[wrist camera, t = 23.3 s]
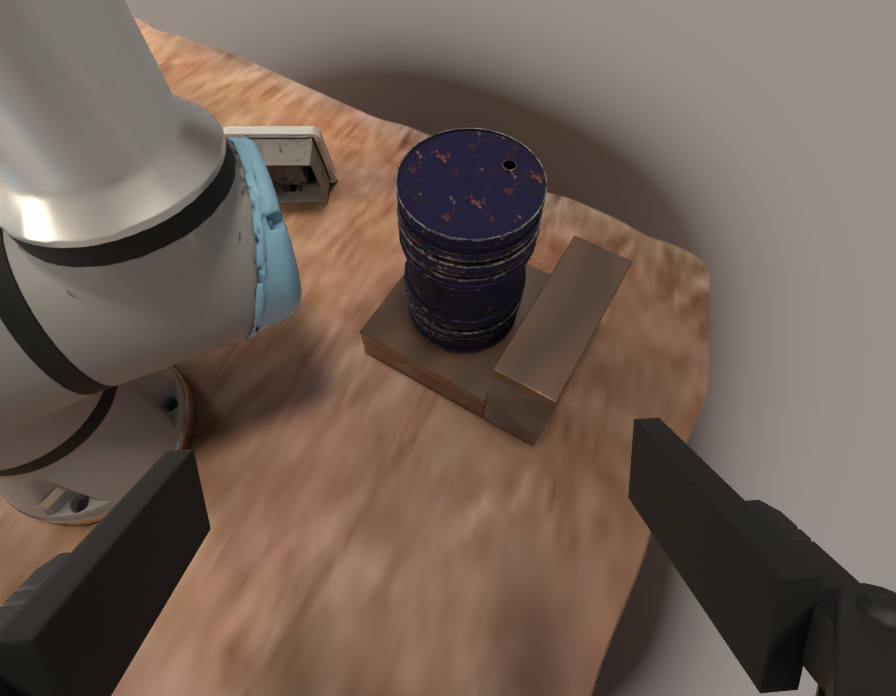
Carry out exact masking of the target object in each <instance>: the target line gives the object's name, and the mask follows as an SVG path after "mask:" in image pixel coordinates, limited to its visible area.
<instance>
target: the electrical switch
mask: <svg viewBox="0 0 896 696" xmlns="http://www.w3.org/2000/svg"><path fill="white" fill-rule="evenodd" d="M223 132H224V134H225V137H226V139H228V138H229V137H232V136H233V138H234V137H236V138H248V139H250V140H252V141H253V142H254V143H255V144H256V146H257V147H258V149H259V151H260V153H261V155H262V157H263V159H264V162H265V164H266V167H267V169H268V172H269V174H270V177H271V180H272V183H273V186H274V188H275V191H276V194H277V197H278V201H279V203H327V202H328V191H329V183H334V182H335V181H336V180H337V175H336V170H335V168H334V165H333V163H332V160H331V157H330V155H329V152H328V150H327V147H326V144H325V142H324V139H323V137H322V134H321V131H320V129H318V128H316V127H314V126H227V127H225V128H224V131H223ZM282 183H283V184H284V185H285V186H286V193H285V186H284V185H283V184H282ZM317 183H318V184H317ZM289 184H295V185H298V187H297V191H294V192H291V191H290V186H289ZM303 185H304V186H303ZM302 186H303V189H302V193H301V188H302ZM320 189H321V191H320ZM304 197H306V198H304ZM315 197H316V198H315ZM314 198H315V199H314Z"/></svg>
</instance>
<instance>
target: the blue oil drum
mask: <svg viewBox="0 0 896 696" xmlns="http://www.w3.org/2000/svg"><path fill="white" fill-rule="evenodd" d="M396 191H397V200H398V207H397V216H398V225H399V237H400V243H401V246H402V249H403V251H404V254H405V256H406V258H407V261H406V264H405V273H404V283H405V288H406V298H407V301H408V305H409V312H410V317H411V320H412V323H413V325H414V327H415V329H416V330H417V331H418V333H419V334H420V335H421V336H422V337H423V338H424V339H425V340H426V341H427V342H429V343H430V344H432V345H433V346H435V347H437V348H439V349H442V350H445V351H448V352H453V353H462V354H467V353H476V352H480V351H484V350H486V349H488V348H491V347H493V346H494V345H496V344H498V343H499V342H500V341H501V340H502V339H504V338H505V336H506V335H507V334H508V333H509V332H510V330H511V328H512V326H513V324H514V322H515V319H516V315H517V311H518V309H519V307H520V304H521V301H522V297H523V291H524V287H525V281H526V267H525V266H526V264H527V262H528V260H529V259H530V257H531V255H532V253H533V251H534V248H535V246H536V240H537V236H538V232H539V229H540V225H541V218H542V209H543V206H544V202H545V198H546V193H547V178H546V175H545V171H544V168H543V166H542V164H541V162H540V161H539V160H538V158H537V157H536V156H535V154H533V152H532V151H531V150H530V149H529V148H528V147H526V146H525V145H523V144H522V143H521V142H519V141H517V140H515V139H514V138H512V137H510V136H507V135H505V134H502V133H499V132H496V131H492V130H487V129H480V128H458V129H452V130H447V131H443V132H440V133H436V134H434V135H432V136H429V137H427V138H425V139H424V140H422V141H420V142H419V143H417V144H416V145H415V146H414V147H413V148H411V149H410V150H409V151H408V153H407V154H406V155H405V156H404V158H403V159H402V161H401V163H400V165H399V168H398V170H397V174H396Z"/></svg>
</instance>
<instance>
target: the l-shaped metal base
mask: <svg viewBox="0 0 896 696" xmlns="http://www.w3.org/2000/svg"><path fill="white" fill-rule="evenodd" d="M631 263H632V261H630V260H628V259H626V258H623V257H621V256H619V255H617V254H615V253H612V252H610V251H608V250H606V249H603V248H601V247H599V246H597V245H594V244H592V243H590V242H588V241H586V240H583V239H581V238H579V237H577V236H574V237H573V239H572V241H571V242H570V244H569V246H568V247H567V249H566V250H565V252H564V254H563V255H562V257H561V259H560V260H559V262H558V263H557V265H556V267H555V268H554V270H553V272H552V273H551V275H549V274H547V273H544V272H542V271H540V270H538V269H536V268H534V267H532V266H530V265H528V264H526V266H525V267H526V281H525V287H524V291H523V297H522V301H521V304H520V307H519V309H518V311H517V315H516V319H515V322H514V324H513V326H512V328H511V330H510V332H509V333H508V334H507V335H506V336H505V338H504V339H502V340H501V341H500V342H499V343H498V344H496V345H494V346H493V347H491V348H488V349H486V350H484V351H480V352H476V353H467V354H462V353H453V352H448V351H445V350H442V349H439V348H437V347H435V346H433V345H432V344H430V343H429V342H427V341H426V340H425V339H424V338H423V337H422V336H421V335H420V334H419V333H418V331H417V330H416V329H415V327H414V325H413V323H412V320H411V317H410V312H409V305H408V301H407V298H406V288H405V283H404V276H403V277H402V278H401V279H400V281H399V282H398V283H397V285H396V286H395V287H394V289H393V290H392V291H391V292H390V294H389V295H388V296H387V298H386V299H385V300H384V301H383V303H382V304H381V305H380V307H379V308H378V309H377V310H376V312H375V313H374V314H373V316H372V317H371V318H370V319H369V321H368V322H367V323H366V325H365V326H364V327H363V328H362V330H361V331H360V333H361V337H362V339H363V343H364V347H365V350H366V352H367V353H368V354H370V355H372V356H374V357H376V358H377V359H379V360H381V361H383V362H384V363H386V364H388V365H390V366H392V367H393V368H395V369H397V370H399V371H401V372H402V373H404V374H406V375H408V376H409V377H411V378H413V379H415V380H417V381H418V382H420V383H422V384H424V385H426V386H427V387H429V388H431V389H433V390H434V391H436V392H438V393H440V394H442V395H443V396H445V397H447V398H449V399H450V400H452V401H454V402H456V403H458V404H459V405H461V406H463V407H465V408H467V409H468V410H470V411H472V412H474V413H475V414H477V415H479V416H481V417H483V418H484V419H486V420H488V421H490V422H491V423H493V424H495V425H497V426H499V427H500V428H502V429H504V430H506V431H508V432H509V433H511V434H513V435H515V436H516V437H518V438H520V439H522V440H524V441H525V442H527V443H529V444H531V445H532V446H533V445H534V444H535V442H536V440H537V439H538V437H539V435H540V433H541V431H542V429H543V427H544V426H545V424H546V422H547V420H548V418H549V416H550V415H551V413H552V411H553V409H554V407H555V405H556V403H557V402H558V400H559V398H560V396H561V394H562V392H563V390H564V388H565V387H566V385H567V383H568V381H569V379H570V377H571V375H572V373H573V372H574V370H575V368H576V366H577V364H578V362H579V360H580V358H581V357H582V355H583V353H584V351H585V349H586V347H587V345H588V343H589V342H590V340H591V338H592V336H593V334H594V332H595V330H596V328H597V327H598V325H599V323H600V321H601V319H602V317H603V315H604V313H605V312H606V310H607V308H608V306H609V304H610V302H611V300H612V299H613V297H614V295H615V293H616V291H617V289H618V287H619V285H620V284H621V282H622V280H623V278H624V276H625V274H626V272H627V270H628V269H629V267H630V265H631Z"/></svg>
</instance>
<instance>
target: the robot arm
mask: <svg viewBox="0 0 896 696" xmlns="http://www.w3.org/2000/svg"><path fill="white" fill-rule="evenodd" d="M282 219H283V215H282V212H281V209H280V206H279V201H278V197H277V194H276V191H275V188H274V186H273V183H272V180H271V177H270V174H269V172H268V169H267V167H266V164H265V162H264V159H263V157H262V155H261V153H260V151H259V149H258V147H257V146H256V144H255V143H254V142H253V141H252V140H250V139H248V138H236V137H234V138H233V136H232V137H229V138H228V139H226V137H225V134H224V132H223V129H222V127H221V126H220V124H219V122H218V120H217V119H216V118H215V117H214V116H213V115H212V114H211V113H210V112H209V111H208V110H207V109H205V108H203V107H202V106H200V105H198V104H196V103H194V102H191V101H189V100H186V99H183V98H180V97H178V96H175V95H173V94H172V92H171V90H170V88H169V86H168V84H167V83H166V81H165V79H164V77H163V75H162V73H161V71H160V69H159V67H158V65H157V63H156V61H155V59H154V57H153V55H152V53H151V51H150V49H149V47H148V45H147V43H146V41H145V39H144V37H143V35H142V33H141V31H140V30H139V28H138V26H137V24H136V22H135V20H134V18H133V16H132V14H131V12H130V10H129V8H128V6H127V4H126V2H125V0H0V495H1V496H2V497H3V498H4V499H5V500H6V501H7V502H8V503H9V504H11V505H12V506H13V507H14V508H15V509H17V510H18V511H20V512H22V513H24V514H26V515H28V516H31V517H33V518H36V519H41V520H45V521H49V522H53V523H58V524H65V525H83V524H91V523H96V522H99V523H98V524H97V526H96V527H95V528H94V529H93V530H92V531H91V532H90V533H89V534H88V535H87V536H86V537H85V538H84V539H83V540H82V542H81V543H80V544H79V545H78V546H77V547H76V548H75V549H74V550H73V551H72V552H71V553H61V554H59V555H58V556H56V557H55V558H53V559H52V560H50V561H49V562H47V563H46V564H44V565H43V566H41V567H40V568H38V569H37V570H36V571H35V572H34V573H33V574H32V575H31V576H30V577H29V578H28V579H27V580H26V581H25V582H24V583H23V584H22V585H21V586H20V587H19V588H18V591H17V592H14V593H13V594H12V595H11V596H10V597H9V598H8V599H7V600H6V601H5V602H4V605H3V607H0V696H111V695H112V693H113V691H114V690H115V688H116V686H117V685H118V683H119V681H120V680H121V678H122V676H123V675H124V673H125V671H126V670H127V668H128V666H129V665H130V663H131V661H132V660H133V658H134V656H135V654H136V653H137V651H138V649H139V648H140V646H141V644H142V643H143V641H144V639H145V638H146V636H147V634H148V633H149V631H150V629H151V628H152V626H153V624H154V623H155V621H156V619H157V618H158V616H159V614H160V613H161V611H162V609H163V608H164V606H165V604H166V603H167V601H168V599H169V598H170V596H171V594H172V592H173V591H174V589H175V587H176V586H177V584H178V582H179V581H180V579H181V577H182V576H183V574H184V572H185V571H186V569H187V567H188V566H189V564H190V562H191V561H192V559H193V557H194V556H195V554H196V552H197V551H198V549H199V547H200V546H201V544H202V542H203V541H204V539H205V537H206V536H207V534H208V532H209V531H210V529H211V528H210V524H209V519H208V514H207V510H206V505H205V501H204V496H203V492H202V487H201V483H200V478H199V473H198V469H197V464H196V460H195V455H194V451H193V449H187V447H188V445H189V442H190V439H191V436H192V431H193V426H194V413H195V412H194V402H193V397H192V394H191V391H190V389H189V387H188V385H187V383H186V381H185V380H184V378H183V377H182V376H181V374H180V373H179V372H178V371H177V370H176V369H175V368H174V367H172V366H173V365H175V364H178V363H181V362H183V361H186V360H189V359H192V358H194V357H197V356H200V355H203V354H205V353H208V352H211V351H214V350H216V349H219V348H222V347H224V346H227V345H230V344H233V343H235V342H238V341H241V340H244V339H249V338H252V337H254V336H255V335H256V334H257V333H258V332H259V331H262V330H264V329H266V328H268V327H270V326H273V325H275V324H277V323H279V322H281V321H284V320H286V319H288V318H289V317H290V316H292V315H293V314H294V313H295V312H296V310H297V309H298V307H299V304H300V301H301V283H300V277H299V272H298V268H297V263H296V259H295V255H294V251H293V247H292V244H291V240H290V237H289V233H288V230H287V227H286V225H285V223H284V222H283V220H282ZM628 498H629V499H630V501H631V502H632V504H633V505H634V507H635V508H636V510H637V511H638V513H639V514H640V516H641V517H642V519H643V520H644V522H645V523H646V525H647V526H648V528H649V529H650V531H651V532H652V534H653V535H654V536H655V538H656V539H657V541H658V542H659V544H660V545H661V547H662V548H663V550H664V551H665V553H666V554H667V556H668V557H669V559H670V560H671V562H672V563H673V565H674V566H675V568H676V569H677V571H678V572H679V573H680V575H681V577H682V578H683V580H684V581H685V582H686V584H687V585H688V587H689V588H690V590H691V591H692V593H693V594H694V596H695V597H696V599H697V600H698V602H699V603H700V605H701V606H702V608H703V609H704V611H705V612H706V614H707V615H708V617H709V618H710V620H711V621H712V623H713V624H714V625H715V627H716V628H717V630H718V631H719V633H720V634H721V636H722V637H723V639H724V640H725V642H726V643H727V645H728V646H729V648H730V649H731V651H732V652H733V654H734V655H735V657H736V658H737V660H738V661H739V662H740V664H741V666H742V667H743V668H744V670H745V671H746V673H747V674H748V676H749V677H750V679H751V680H752V682H753V683H754V685H755V686H756V688H757V689H758V691H759V692H760V693H767V692H778V691H789V690H798V686H799V682H800V677H801V673H802V668H803V666H804V667H805V668H806V670H807V671H808V672H809V674H810V675H811V676H812V677H813V679H814V680H815V681H816V682H817V683H818V687H817V691H816V696H896V593H895V592H893V591H890V590H888V589H885V588H883V587H879V586H875V585H871V584H866V583H859V582H858V581H857V580H856V579H855V578H854V577H853V576H852V575H851V574H849V573H848V572H847V571H846V570H845V569H844V568H843V567H842V566H841V565H839V564H838V563H837V562H836V561H835V560H834V559H833V558H832V557H830V556H829V555H828V554H827V553H826V552H825V551H824V550H823V549H821V547H819V546H818V545H817V544H816V543H815V542H811V540H810V539H811V538H809V537H808V536H807V535H806V534H805V533H804V532H803V531H802V530H800V529H798V528H797V526H796V525H795V524H794V523H793V522H792V521H790V520H789V519H788V518H787V517H786V516H785V515H784V514H783V513H782V512H780V511H779V510H776V509H775V508H773V507H771V506H769V505H767V504H766V503H764V502H761V501H760V500H751V501H744V499H742V498H741V497H740V496H739V495H738V494H737V493H736V492H735V491H734V490H733V489H732V488H731V487H730V486H729V485H728V484H727V483H726V482H725V481H724V480H723V479H722V478H721V477H720V476H719V475H718V474H717V473H716V472H714V471H713V470H712V469H711V468H710V467H709V466H708V465H707V464H706V463H705V462H704V461H703V460H702V459H701V458H700V457H699V456H698V455H697V454H696V453H695V452H694V451H693V450H692V449H691V448H690V447H689V446H688V445H687V444H686V443H684V442H683V441H682V440H681V439H680V438H679V437H678V436H677V435H676V434H675V433H674V432H673V431H672V430H671V429H670V428H669V427H668V426H667V425H666V424H665V423H664V422H663V421H662V420H661V419H660V418H648V419H634V428H633V441H632V455H631V469H630V483H629V497H628Z"/></svg>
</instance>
